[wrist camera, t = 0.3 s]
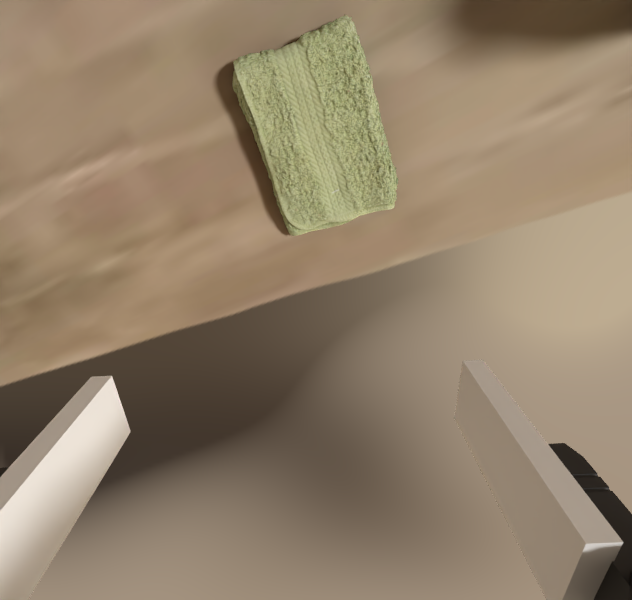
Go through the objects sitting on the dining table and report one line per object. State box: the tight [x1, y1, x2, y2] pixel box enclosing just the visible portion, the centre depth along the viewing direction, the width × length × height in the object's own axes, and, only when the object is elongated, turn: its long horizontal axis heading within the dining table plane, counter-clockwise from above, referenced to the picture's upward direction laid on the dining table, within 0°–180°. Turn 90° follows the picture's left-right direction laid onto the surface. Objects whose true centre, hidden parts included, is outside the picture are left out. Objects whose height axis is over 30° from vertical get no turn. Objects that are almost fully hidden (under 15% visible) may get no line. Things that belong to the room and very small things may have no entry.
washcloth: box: [232, 15, 398, 236], centre depth 36 cm, size 13×18×3 cm
